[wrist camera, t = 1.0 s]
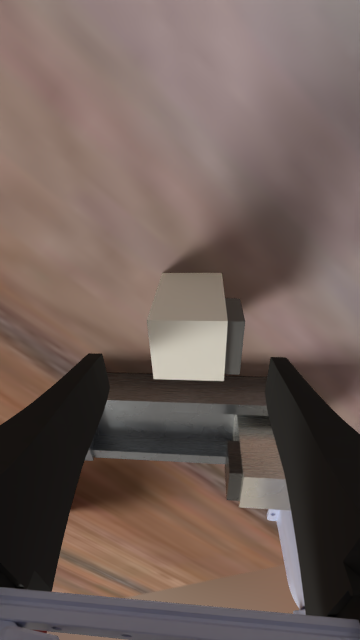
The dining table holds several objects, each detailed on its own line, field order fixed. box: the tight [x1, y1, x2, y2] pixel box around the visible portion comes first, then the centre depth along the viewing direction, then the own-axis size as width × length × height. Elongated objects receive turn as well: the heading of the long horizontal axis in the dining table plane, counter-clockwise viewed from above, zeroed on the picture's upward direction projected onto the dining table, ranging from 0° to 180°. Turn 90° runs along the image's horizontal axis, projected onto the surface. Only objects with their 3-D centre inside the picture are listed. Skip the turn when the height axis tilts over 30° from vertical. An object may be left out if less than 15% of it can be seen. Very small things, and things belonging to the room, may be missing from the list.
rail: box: [85, 373, 291, 511], centre depth 21 cm, size 7×16×7 cm, turn 92°
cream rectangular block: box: [147, 273, 245, 381], centre depth 16 cm, size 4×4×5 cm
